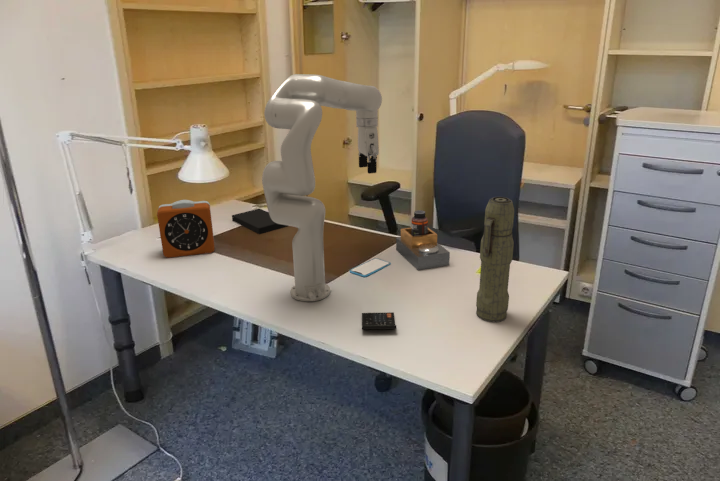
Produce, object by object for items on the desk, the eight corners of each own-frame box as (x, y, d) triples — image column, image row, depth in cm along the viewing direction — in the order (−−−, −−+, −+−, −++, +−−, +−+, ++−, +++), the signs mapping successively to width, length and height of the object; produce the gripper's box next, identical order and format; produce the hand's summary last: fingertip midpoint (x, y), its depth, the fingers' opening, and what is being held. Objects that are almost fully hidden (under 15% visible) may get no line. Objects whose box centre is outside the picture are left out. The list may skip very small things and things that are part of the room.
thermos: (514, 311, 160) (525, 196, 147) (496, 327, 151) (506, 207, 139) (486, 302, 165) (495, 191, 152) (467, 318, 156) (475, 201, 144)
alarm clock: (163, 258, 201) (155, 205, 194) (165, 250, 209) (157, 198, 201) (215, 253, 206) (208, 201, 198) (214, 244, 213) (208, 194, 206)
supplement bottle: (427, 238, 202) (428, 209, 198) (427, 244, 197) (428, 214, 192) (411, 238, 203) (411, 209, 199) (410, 243, 197) (411, 214, 193)
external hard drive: (259, 235, 224) (259, 228, 223) (232, 221, 240) (231, 215, 239) (288, 227, 232) (288, 220, 231) (260, 214, 249) (259, 208, 248)
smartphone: (391, 262, 193) (365, 275, 183) (391, 265, 194) (365, 279, 183) (375, 257, 198) (348, 270, 187) (375, 260, 198) (348, 273, 188)
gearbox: (449, 265, 191) (450, 241, 188) (417, 270, 188) (418, 246, 185) (425, 245, 209) (425, 223, 206) (396, 249, 206) (396, 227, 202)
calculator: (393, 314, 160) (393, 305, 159) (396, 335, 149) (396, 326, 148) (361, 315, 160) (361, 306, 159) (362, 336, 149) (361, 326, 148)
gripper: (385, 125, 185) (385, 174, 191) (368, 118, 200) (369, 164, 206) (364, 126, 182) (365, 176, 189) (349, 119, 198) (350, 165, 204)
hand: (367, 170), depth 197 cm, fingers open, 9 cm apart
